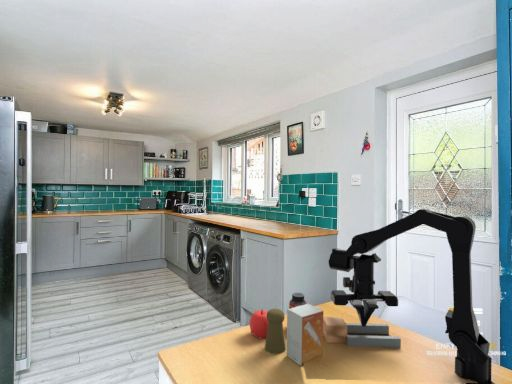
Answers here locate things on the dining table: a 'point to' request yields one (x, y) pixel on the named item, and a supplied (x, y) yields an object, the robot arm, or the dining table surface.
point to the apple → (259, 323)
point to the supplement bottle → (297, 300)
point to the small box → (304, 333)
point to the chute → (371, 340)
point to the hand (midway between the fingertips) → (363, 326)
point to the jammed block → (335, 329)
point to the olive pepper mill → (275, 332)
